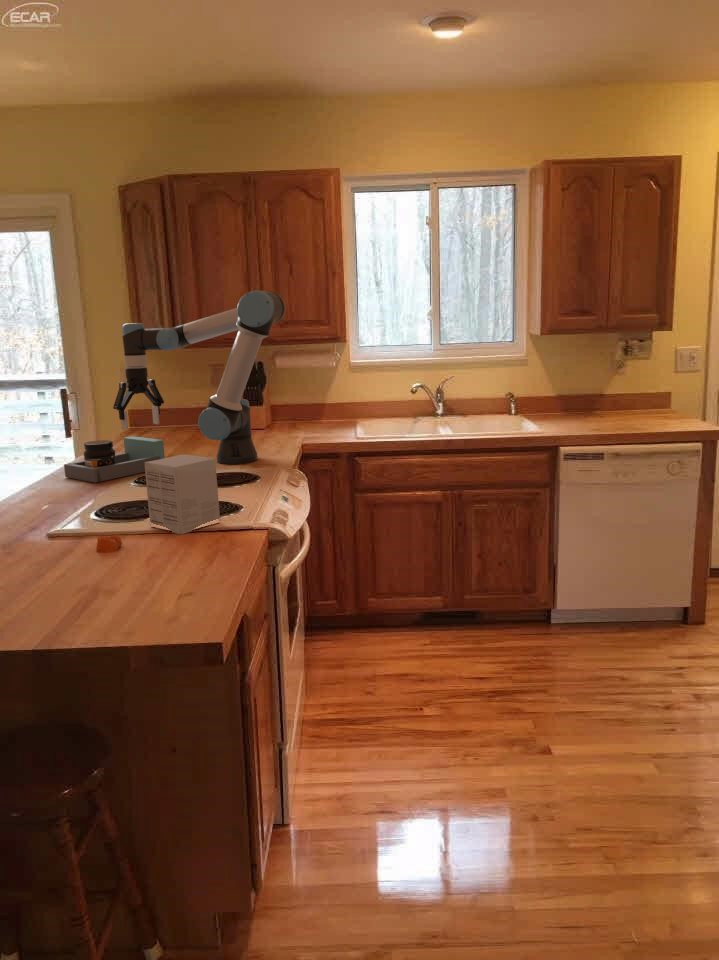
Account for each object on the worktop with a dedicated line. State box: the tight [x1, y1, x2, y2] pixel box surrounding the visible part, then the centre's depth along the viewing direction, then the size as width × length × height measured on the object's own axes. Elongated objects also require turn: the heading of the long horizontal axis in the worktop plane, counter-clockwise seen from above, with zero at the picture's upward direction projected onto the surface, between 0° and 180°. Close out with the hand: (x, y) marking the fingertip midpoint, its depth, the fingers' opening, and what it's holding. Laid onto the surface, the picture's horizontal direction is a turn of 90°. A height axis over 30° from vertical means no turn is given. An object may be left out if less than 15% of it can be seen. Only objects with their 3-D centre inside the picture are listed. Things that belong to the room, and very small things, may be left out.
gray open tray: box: [63, 435, 166, 484], centre depth 276 cm, size 18×29×10 cm, turn 142°
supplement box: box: [144, 453, 221, 535], centre depth 203 cm, size 13×13×18 cm
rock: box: [95, 534, 123, 553], centre depth 187 cm, size 12×12×4 cm
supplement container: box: [82, 439, 116, 468], centre depth 271 cm, size 10×10×12 cm
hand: (141, 426), depth 283 cm, fingers open, 13 cm apart
